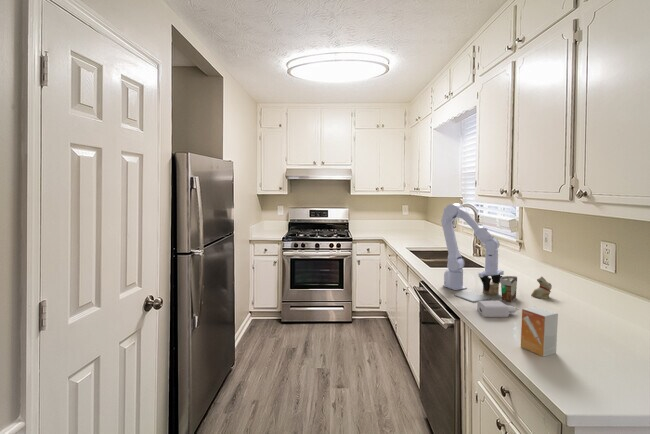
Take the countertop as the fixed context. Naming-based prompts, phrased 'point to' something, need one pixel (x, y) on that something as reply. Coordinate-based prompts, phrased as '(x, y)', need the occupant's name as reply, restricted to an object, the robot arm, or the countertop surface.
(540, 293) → the chocolate bunny
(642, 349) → the countertop surface
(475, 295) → the slate board
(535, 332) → the small box
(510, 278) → the food container
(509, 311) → the charger
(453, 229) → the robot arm
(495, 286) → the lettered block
